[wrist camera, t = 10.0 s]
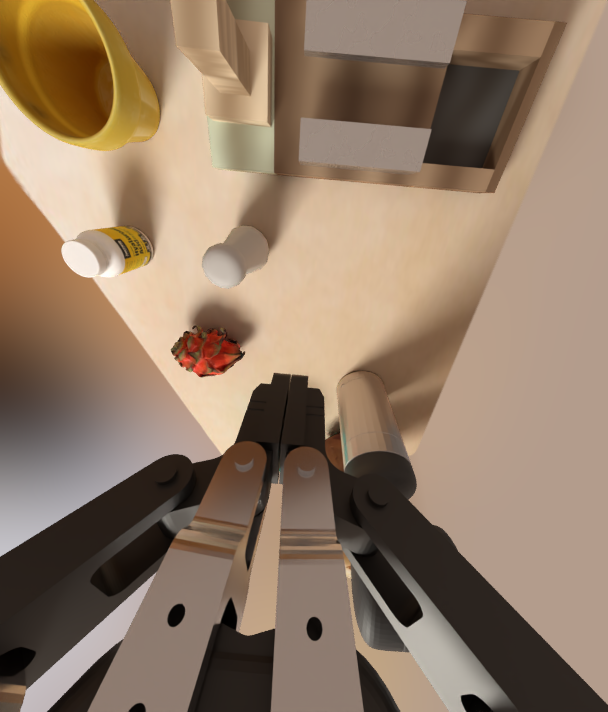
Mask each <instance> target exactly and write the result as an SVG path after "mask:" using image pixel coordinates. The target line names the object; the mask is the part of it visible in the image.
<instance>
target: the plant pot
mask: <svg viewBox="0 0 608 712" xmlns="http://www.w3.org/2000/svg"><path fill="white" fill-rule="evenodd" d="M0 85H1V86H2V88H3V89H4V91H5V92H6V94H7V95H8V96H9V98H10V99H11V100H12V101H13V103H14V104H15V105H16V106H17V107H18V108H19V109H20V111H21V112H22V113H23V114H24V115H25V116H26V117H27V118H28V119H29V120H31V121H32V122H33V123H34V124H35V125H37V126H38V127H39V128H40V129H42V130H43V131H44V132H46V133H48V134H49V135H51V136H53V137H54V138H56V139H58V140H61V141H63V142H66V143H69V144H72V145H75V146H79V147H83V148H88V149H93V150H100V151H110V150H115V149H118V148H120V147H122V146H124V145H125V144H126V143H128V142H142V141H146V140H148V139H150V138H151V137H152V136H153V135H154V134H155V133H156V131H157V129H158V126H159V121H160V110H159V103H158V99H157V96H156V93H155V90H154V88H153V86H152V84H151V82H150V80H149V79H148V77H147V76H146V74H145V73H144V72H143V71H142V69H141V68H140V67H139V66H138V64H137V63H136V62H135V60H134V59H133V58H132V57H131V55H130V53H129V51H128V49H127V47H126V45H125V43H124V41H123V39H122V37H121V35H120V34H119V32H118V30H117V29H116V27H115V26H114V24H113V23H112V21H111V20H110V19H109V18H108V16H107V15H106V14H105V12H104V11H103V10H102V9H101V8H100V7H99V6H98V5H97V3H96V2H95V1H94V0H0Z"/></svg>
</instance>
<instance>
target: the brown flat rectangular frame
mask: <svg viewBox="0 0 608 712" xmlns="http://www.w3.org/2000/svg"><path fill="white" fill-rule="evenodd" d="M226 1H227V4H228V6H229V8H230V10H231V12H232V14H233V16H234V18H235V19H239V20H247V21H256V22H264V23H268V24H269V28H270V31H271V34H272V109H271V127H262V126H254V125H245V124H237V123H228V122H219V121H213V120H212V119H211V118H209V117H208V116H207V121H208V130H209V140H210V149H211V158H212V167H214V168H217V169H221V170H230V171H241V172H252V173H263V174H274V175H285V176H296V177H307V178H318V179H329V180H340V181H351V182H362V183H373V184H384V185H395V186H406V187H417V188H428V189H439V190H451V191H462V192H473V193H494V192H495V190H496V188H497V185H498V183H499V181H500V178H501V176H502V174H503V171H504V169H505V167H506V164H507V162H508V160H509V157H510V155H511V153H512V150H513V148H514V146H515V143H516V141H517V139H518V136H519V134H520V132H521V129H522V127H523V125H524V122H525V120H526V118H527V115H528V113H529V111H530V108H531V106H532V103H533V101H534V99H535V96H536V94H537V92H538V89H539V87H540V85H541V82H542V80H543V78H544V75H545V73H546V71H547V68H548V66H549V64H550V61H551V59H552V57H553V54H554V52H555V50H556V47H557V45H558V43H559V40H560V38H561V36H562V33H563V31H564V29H565V26H566V24H567V23H565V22H554V21H543V20H531V19H520V18H509V17H498V16H486V15H475V14H464V13H463V17H462V20H461V24H460V28H459V31H458V35H457V39H456V42H455V46H454V50H453V53H452V57H451V61H450V63H449V65H448V66H447V67H446V68H445V69H443V68H432V67H420V66H409V65H398V64H387V63H376V62H364V61H353V60H342V59H331V58H320V57H308V56H305V54H304V41H305V21H306V0H226ZM301 118H312V119H324V120H335V121H346V122H357V123H368V124H379V125H390V126H401V127H412V128H424V129H432V130H431V134H430V137H429V141H428V145H427V148H426V152H425V156H424V159H423V163H422V167H421V170H420V172H418V173H414V174H410V175H405V174H394V173H383V172H372V171H361V170H350V169H339V168H328V167H317V166H306V165H301V164H300V162H299V143H300V123H301Z"/></svg>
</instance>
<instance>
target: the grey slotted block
mask: <svg viewBox="0 0 608 712" xmlns="http://www.w3.org/2000/svg"><path fill="white" fill-rule="evenodd" d="M466 2H467V1H464V0H306V21H305V41H304V54H305V56H308V57H320V58H331V59H342V60H353V61H364V62H376V63H387V64H398V65H409V66H420V67H432V68H443V69H445V68H446V67H447V66H448V65H449V63H450V61H451V57H452V53H453V50H454V46H455V42H456V39H457V35H458V31H459V28H460V24H461V20H462V17H463V13H464V9H465V6H466ZM431 130H432V129H424V128H412V127H401V126H390V125H379V124H368V123H357V122H346V121H335V120H324V119H312V118H301V123H300V143H299V162H300V164H301V165H306V166H317V167H328V168H339V169H350V170H361V171H372V172H383V173H394V174H405V175H410V174H414V173H418V172H420V170H421V167H422V163H423V159H424V156H425V152H426V148H427V145H428V141H429V137H430V134H431Z"/></svg>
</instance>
